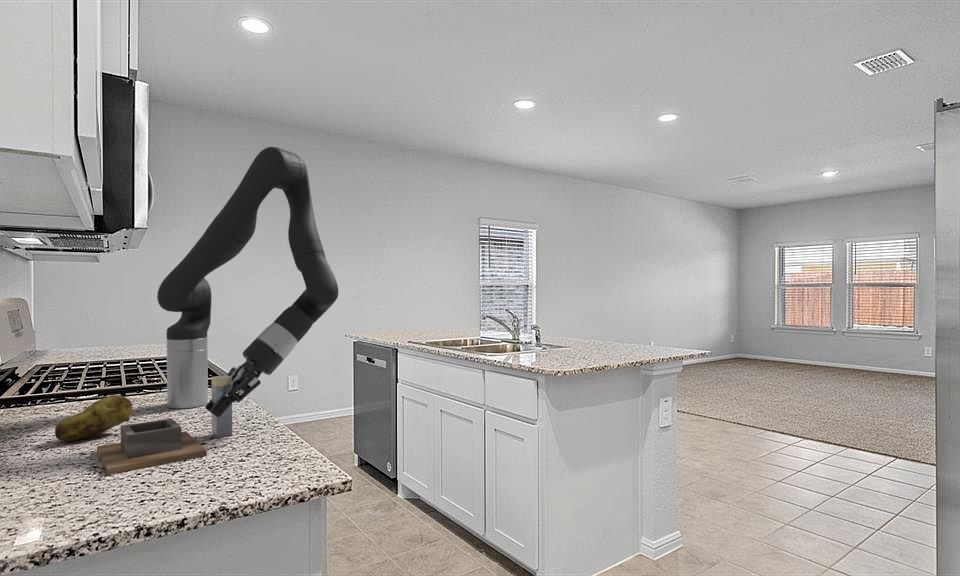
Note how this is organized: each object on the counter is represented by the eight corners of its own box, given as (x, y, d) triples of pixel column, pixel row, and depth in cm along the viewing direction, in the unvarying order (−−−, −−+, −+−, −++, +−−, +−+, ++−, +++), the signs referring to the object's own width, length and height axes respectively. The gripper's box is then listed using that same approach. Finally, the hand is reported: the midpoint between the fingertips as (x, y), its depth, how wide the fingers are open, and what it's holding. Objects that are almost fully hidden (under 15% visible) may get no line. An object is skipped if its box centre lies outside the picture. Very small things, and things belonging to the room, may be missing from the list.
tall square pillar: (212, 434, 112) (211, 376, 112) (227, 431, 114) (226, 375, 114) (216, 438, 110) (216, 379, 110) (232, 435, 112) (231, 377, 112)
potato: (58, 437, 111) (57, 398, 111) (132, 427, 118) (132, 391, 118) (53, 447, 104) (53, 405, 104) (133, 436, 111) (132, 397, 111)
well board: (97, 451, 101) (96, 424, 101) (186, 436, 111) (185, 412, 111) (107, 474, 89) (107, 444, 89) (206, 455, 99) (206, 428, 99)
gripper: (247, 334, 122) (188, 396, 114) (269, 339, 111) (205, 407, 104) (271, 355, 126) (215, 416, 118) (295, 362, 115) (235, 430, 107)
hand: (211, 412), depth 111 cm, fingers closed on tall square pillar, 3 cm apart
